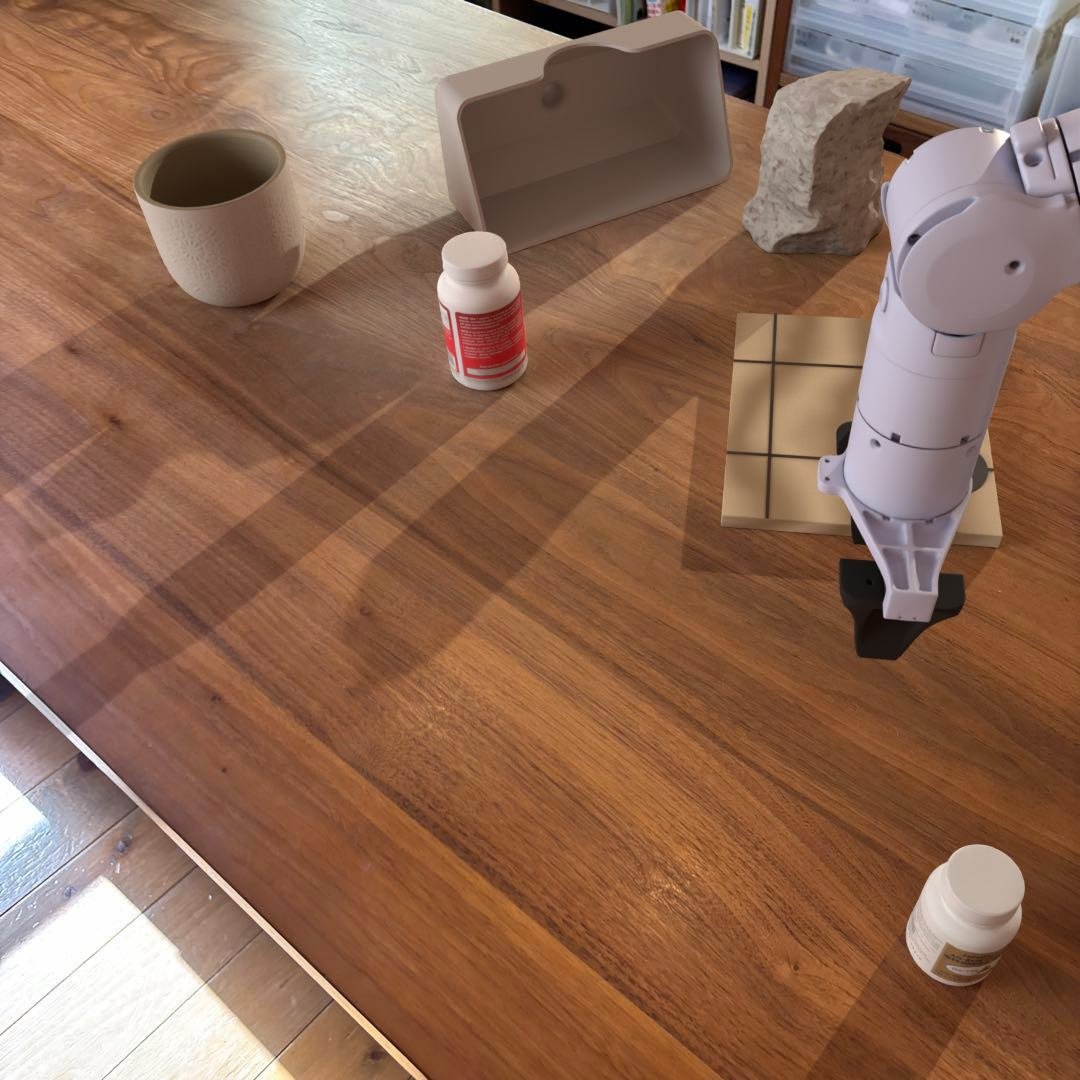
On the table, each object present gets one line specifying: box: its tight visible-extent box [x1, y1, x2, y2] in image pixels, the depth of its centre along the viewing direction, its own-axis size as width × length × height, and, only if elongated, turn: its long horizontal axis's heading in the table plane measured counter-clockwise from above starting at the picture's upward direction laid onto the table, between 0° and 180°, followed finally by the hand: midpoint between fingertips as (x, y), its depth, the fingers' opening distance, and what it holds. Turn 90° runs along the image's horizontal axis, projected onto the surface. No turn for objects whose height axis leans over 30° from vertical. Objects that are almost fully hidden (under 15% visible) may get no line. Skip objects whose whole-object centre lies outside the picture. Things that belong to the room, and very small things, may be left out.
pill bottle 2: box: [905, 844, 1026, 987], centre depth 53 cm, size 4×4×8 cm
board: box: [720, 312, 1004, 549], centre depth 80 cm, size 18×22×1 cm
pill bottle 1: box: [436, 231, 528, 392], centre depth 84 cm, size 6×6×11 cm
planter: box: [132, 128, 306, 308], centre depth 94 cm, size 12×12×11 cm
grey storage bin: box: [433, 10, 734, 255], centre depth 101 cm, size 25×16×12 cm, turn 115°
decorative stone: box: [741, 66, 913, 257], centre depth 91 cm, size 10×9×15 cm
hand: (874, 595), depth 59 cm, fingers open, 7 cm apart
